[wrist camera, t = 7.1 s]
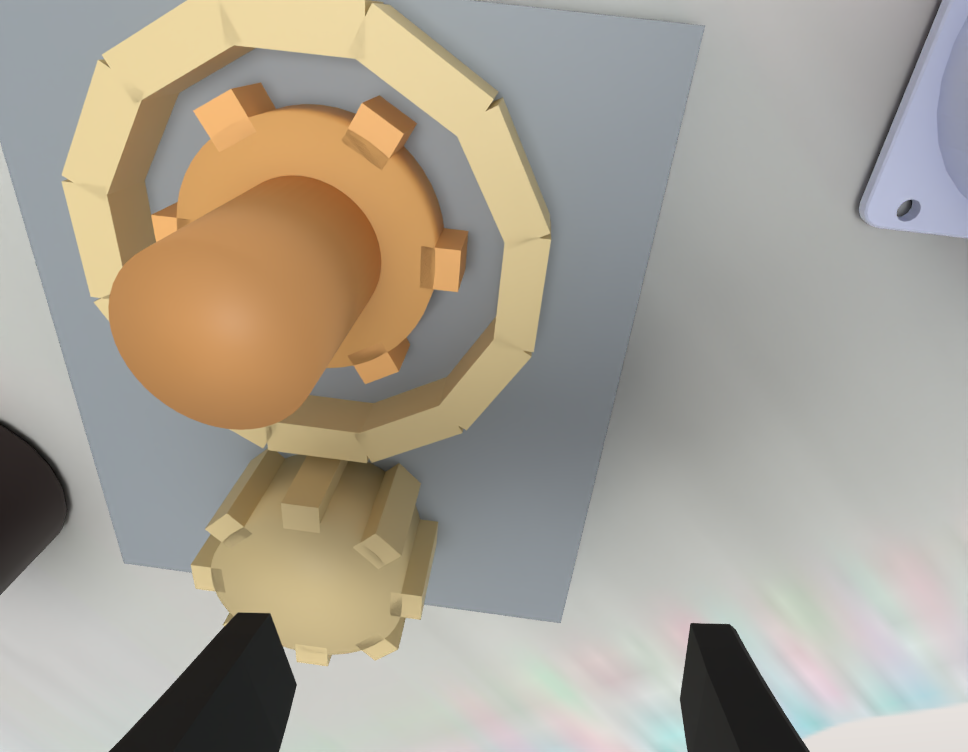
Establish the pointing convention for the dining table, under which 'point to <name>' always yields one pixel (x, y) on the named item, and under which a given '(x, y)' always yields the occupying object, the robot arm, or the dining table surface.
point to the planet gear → (283, 260)
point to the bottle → (25, 506)
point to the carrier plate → (433, 342)
